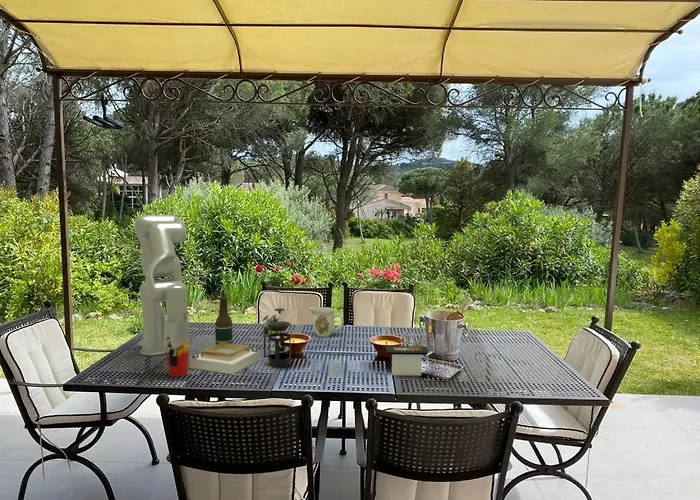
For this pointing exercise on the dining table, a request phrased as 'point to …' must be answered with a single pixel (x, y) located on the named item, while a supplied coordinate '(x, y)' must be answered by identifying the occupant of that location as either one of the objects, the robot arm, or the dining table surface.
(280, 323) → the french press
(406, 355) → the dark-capped white block
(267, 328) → the passion flower
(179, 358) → the french fries
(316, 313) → the pitcher
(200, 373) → the dining table surface
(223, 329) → the beer bottle
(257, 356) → the gold-rimmed square tray
